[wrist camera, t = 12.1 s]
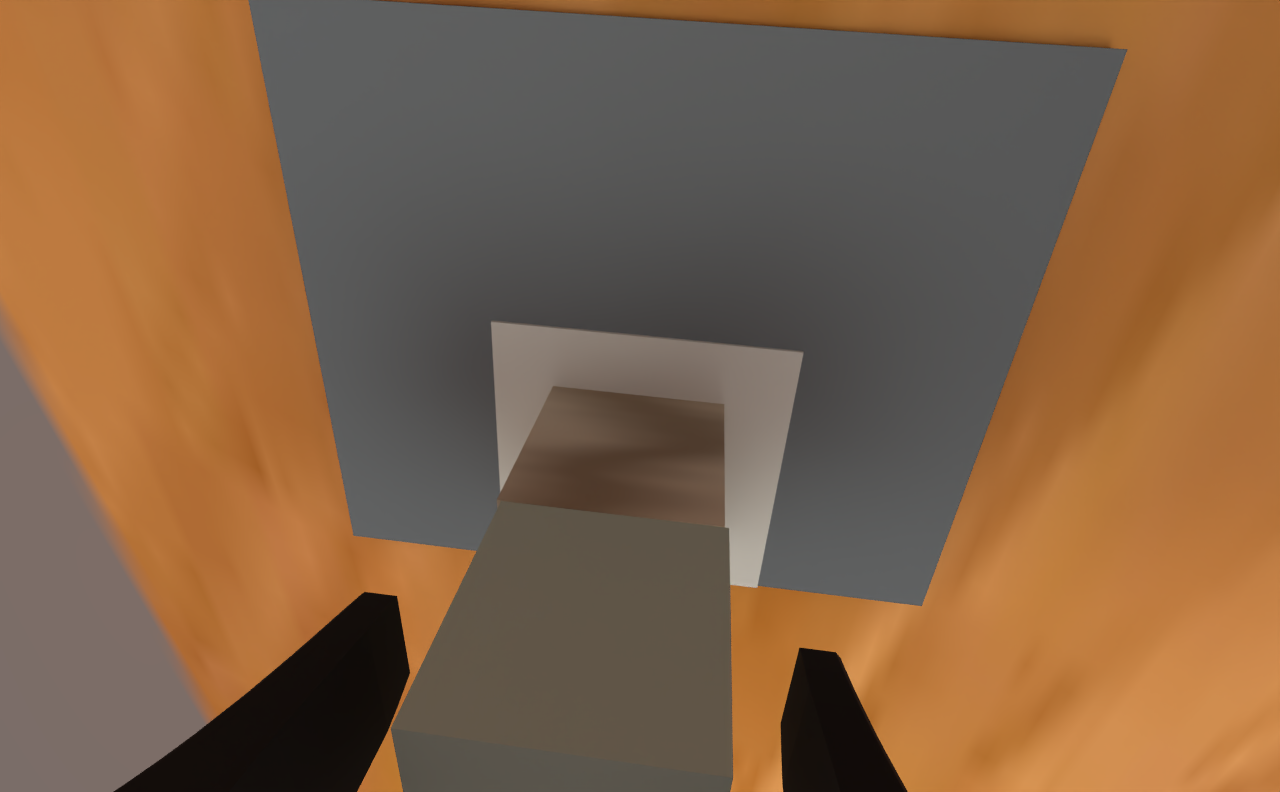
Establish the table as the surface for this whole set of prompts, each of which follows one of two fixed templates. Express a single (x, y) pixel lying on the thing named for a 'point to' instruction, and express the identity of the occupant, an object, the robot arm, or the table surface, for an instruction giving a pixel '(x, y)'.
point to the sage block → (578, 661)
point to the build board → (674, 255)
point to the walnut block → (624, 457)
